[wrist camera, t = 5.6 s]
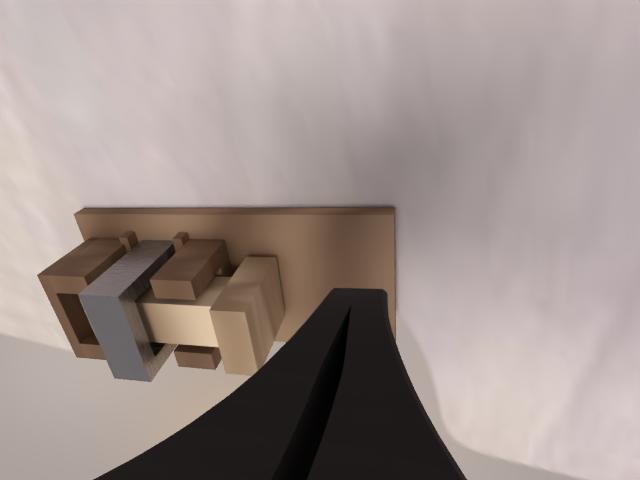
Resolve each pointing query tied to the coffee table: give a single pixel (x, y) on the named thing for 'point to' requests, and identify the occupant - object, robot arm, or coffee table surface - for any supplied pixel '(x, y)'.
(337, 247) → the jig
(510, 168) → the coffee table surface
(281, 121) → the coffee table surface
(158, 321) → the shaft
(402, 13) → the coffee table surface
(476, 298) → the coffee table surface
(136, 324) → the collar
